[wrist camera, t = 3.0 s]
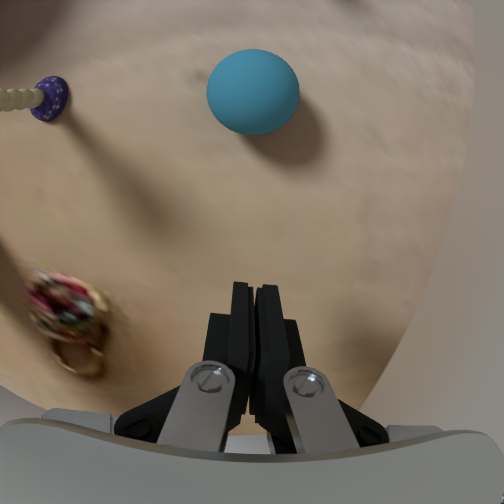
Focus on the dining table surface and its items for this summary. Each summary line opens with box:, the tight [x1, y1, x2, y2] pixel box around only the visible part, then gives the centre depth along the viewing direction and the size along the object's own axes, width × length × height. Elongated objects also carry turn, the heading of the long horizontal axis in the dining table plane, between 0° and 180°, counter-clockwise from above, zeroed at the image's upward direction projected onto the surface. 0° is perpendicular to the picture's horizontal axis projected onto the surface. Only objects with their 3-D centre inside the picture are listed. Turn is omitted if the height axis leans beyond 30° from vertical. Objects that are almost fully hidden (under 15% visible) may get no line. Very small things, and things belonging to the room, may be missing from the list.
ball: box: [207, 49, 300, 135], centre depth 17 cm, size 6×6×6 cm
